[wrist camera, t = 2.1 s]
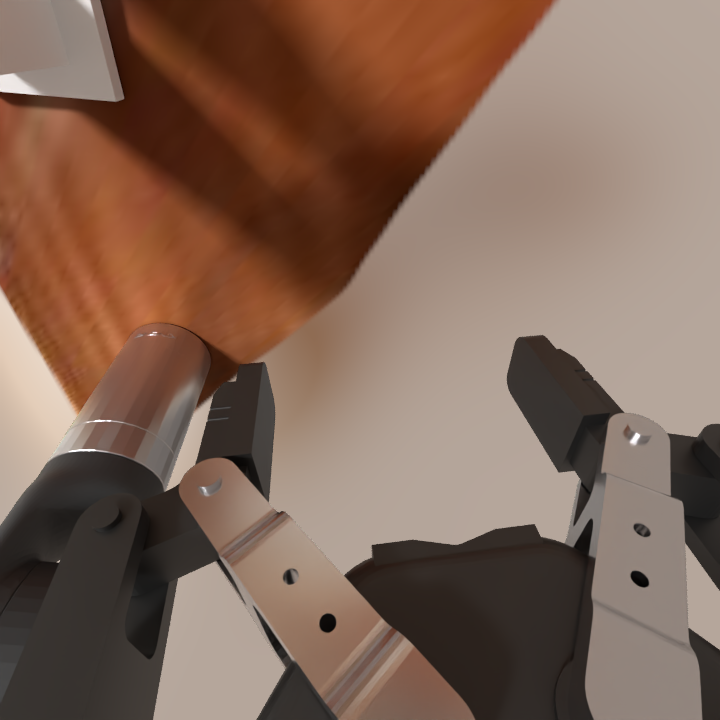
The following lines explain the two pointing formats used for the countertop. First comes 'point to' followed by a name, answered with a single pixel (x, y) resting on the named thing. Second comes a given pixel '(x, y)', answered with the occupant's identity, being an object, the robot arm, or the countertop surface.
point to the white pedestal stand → (57, 50)
